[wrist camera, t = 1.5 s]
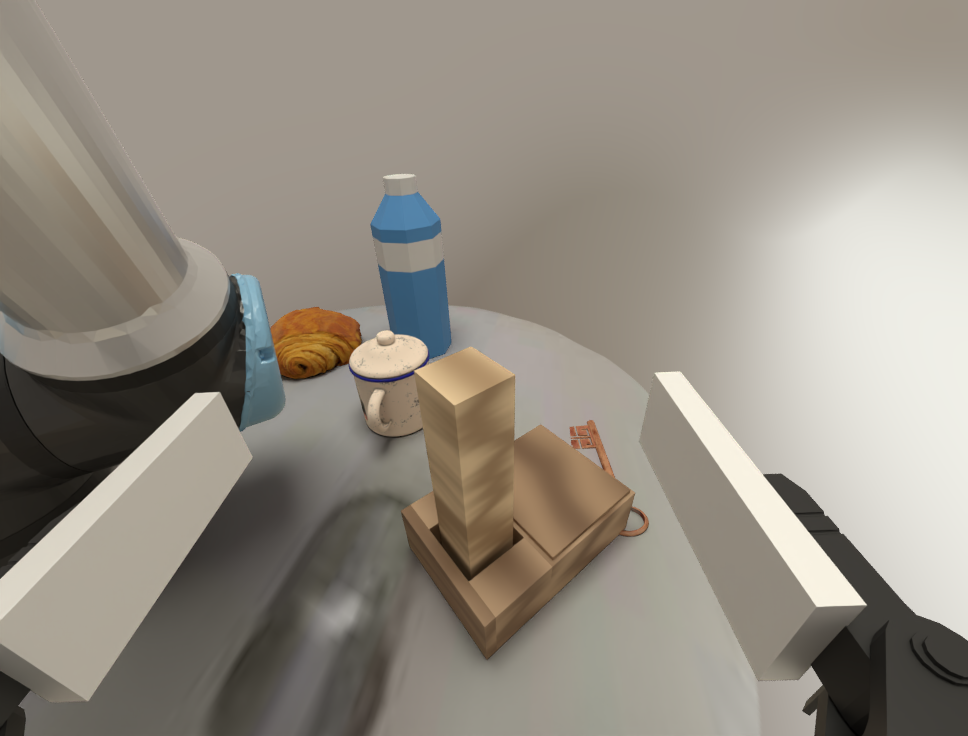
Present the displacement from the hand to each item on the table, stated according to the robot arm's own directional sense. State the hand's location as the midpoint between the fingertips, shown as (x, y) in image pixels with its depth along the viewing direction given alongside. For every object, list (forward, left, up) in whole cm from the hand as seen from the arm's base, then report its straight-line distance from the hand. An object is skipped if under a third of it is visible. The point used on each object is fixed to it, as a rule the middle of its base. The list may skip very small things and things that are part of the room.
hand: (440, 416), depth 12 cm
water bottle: (-41, +21, -24) cm, 52 cm away
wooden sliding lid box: (-6, +10, -24) cm, 27 cm away
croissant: (-51, +7, -25) cm, 57 cm away
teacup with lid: (-27, +9, -24) cm, 38 cm away
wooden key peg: (-6, +5, -24) cm, 26 cm away
